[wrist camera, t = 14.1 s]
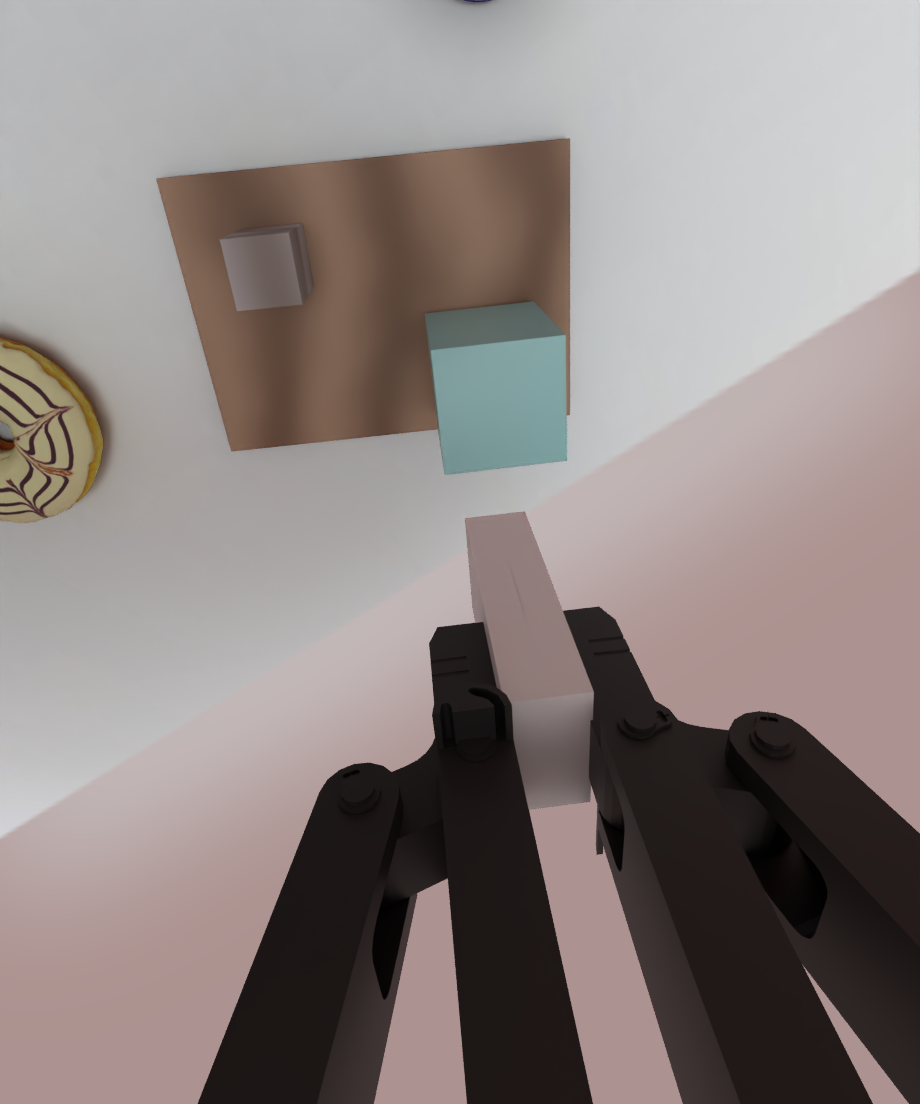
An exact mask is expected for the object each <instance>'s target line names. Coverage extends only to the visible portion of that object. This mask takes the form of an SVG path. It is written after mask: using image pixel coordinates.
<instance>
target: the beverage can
mask: <svg viewBox="0 0 920 1104" xmlns="http://www.w3.org/2000/svg"><path fill="white" fill-rule="evenodd" d="M461 1H465V2H469V3H483V2H487V1H491V0H461Z"/></svg>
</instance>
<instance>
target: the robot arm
mask: <svg viewBox="0 0 920 1104" xmlns="http://www.w3.org/2000/svg"><path fill="white" fill-rule="evenodd" d="M465 523H466V535H467V547H468V557H469V570H470V583H471V595H472V607H473V613H474V618H475V623H471V624H462V625H453V626H444V627H437V629H436V631H435V633H434V635H433V637H432V639H431V641H430V643H429V646H430V658H431V670H432V682H433V694H434V708H433V714H432V717H433V724H434V731H435V739H434V742H433V744H432V746H431V747H430V748H429V750H428V751H427V752H426V754H424V755H423V756H422V757H421V758H419V759H418V760H417V761H415V762H413V763H411V764H409V765H407V766H405V767H403V768H400V769H398V770H396V771H393V772H391V771H389V770H388V769H387V768H385V767H384V766H381V765H377V764H373V763H361V764H353V765H351V766H348V767H346V768H344V769H341V770H339V771H338V772H337V773H335V774H334V775H333V776H332V777H330V778H329V779H328V780H327V781H326V783H325V784H324V786H323V787H322V789H321V791H320V792H319V795H318V798H317V800H316V803H315V805H314V808H313V810H312V813H311V816H310V818H309V820H308V823H307V826H306V828H305V831H304V834H303V836H302V838H301V841H300V843H299V846H298V849H297V851H296V854H295V856H294V859H293V862H292V864H291V866H290V869H289V872H288V874H287V877H286V879H285V882H284V884H283V887H282V889H281V892H280V895H279V897H278V900H277V902H276V905H275V908H274V910H273V913H272V915H271V918H270V920H269V923H268V926H267V928H266V930H265V933H264V935H263V938H262V941H261V943H260V946H259V949H258V951H257V954H256V956H255V958H254V961H253V964H252V966H251V969H250V971H249V974H248V977H247V979H246V981H245V984H244V987H243V989H242V992H241V994H240V997H239V999H238V1002H237V1004H236V1007H235V1010H234V1012H233V1015H232V1017H231V1020H230V1022H229V1025H228V1027H227V1030H226V1033H225V1035H224V1038H223V1040H222V1043H221V1045H220V1048H219V1051H218V1053H217V1056H216V1058H215V1061H214V1063H213V1066H212V1069H211V1071H210V1074H209V1076H208V1079H207V1081H206V1084H205V1086H204V1089H203V1091H202V1094H201V1097H200V1099H199V1102H198V1104H374V1100H375V1095H376V1090H377V1085H378V1081H379V1076H380V1071H381V1066H382V1061H383V1057H384V1052H385V1047H386V1042H387V1037H388V1033H389V1028H390V1023H391V1019H392V1013H393V1009H394V1004H395V999H396V995H397V990H398V985H399V980H400V975H401V971H402V966H403V961H404V956H405V951H406V946H407V942H408V937H409V932H410V927H411V922H412V918H413V913H414V908H415V903H416V899H417V893H418V892H420V891H422V890H424V889H426V888H428V887H431V886H432V885H435V884H437V883H439V882H441V881H443V880H445V879H447V878H448V885H449V895H450V896H449V897H450V909H451V920H452V932H453V944H454V955H455V967H456V979H457V991H458V1002H459V1013H460V1026H461V1036H462V1049H463V1061H464V1072H465V1084H466V1096H467V1104H593V1102H592V1097H591V1093H590V1088H589V1084H588V1079H587V1074H586V1070H585V1065H584V1061H583V1056H582V1052H581V1047H580V1043H579V1038H578V1033H577V1029H576V1024H575V1019H574V1015H573V1010H572V1006H571V1001H570V997H569V992H568V988H567V983H566V978H565V973H564V969H563V964H562V960H561V955H560V950H559V946H558V942H557V937H556V932H555V928H554V923H553V918H552V914H551V910H550V905H549V900H548V895H547V891H546V886H545V882H544V877H543V873H542V868H541V863H540V859H539V854H538V850H537V845H536V840H535V836H534V831H533V827H532V822H531V817H530V813H529V810H530V809H537V808H545V807H553V806H561V805H568V804H576V803H584V802H590V793H591V786H592V789H593V792H594V795H595V798H596V801H597V804H598V805H597V830H596V850H597V855H598V854H603V846H604V849H605V852H606V856H607V859H608V862H609V865H610V869H611V872H612V875H613V878H614V882H615V885H616V888H617V891H618V895H619V898H620V901H621V904H622V907H623V911H624V914H625V917H626V921H627V924H628V927H629V930H630V933H631V937H632V940H633V943H634V947H635V950H636V953H637V956H638V960H639V963H640V966H641V969H642V973H643V976H644V979H645V982H646V985H647V989H648V992H649V995H650V998H651V1002H652V1005H653V1008H654V1011H655V1015H656V1018H657V1021H658V1024H659V1028H660V1031H661V1034H662V1037H663V1041H664V1044H665V1047H666V1050H667V1053H668V1057H669V1060H670V1063H671V1067H672V1070H673V1073H674V1076H675V1080H676V1083H677V1086H678V1089H679V1092H680V1096H681V1099H682V1102H683V1104H873V1103H872V1101H871V1099H870V1097H869V1095H868V1093H867V1091H866V1089H865V1087H864V1085H863V1083H862V1081H861V1079H860V1077H859V1076H858V1074H857V1071H856V1070H855V1068H854V1066H853V1064H852V1062H851V1060H850V1058H849V1056H848V1054H847V1052H846V1050H845V1048H844V1046H843V1044H842V1042H841V1040H840V1038H839V1036H838V1034H837V1032H836V1030H835V1028H834V1026H833V1024H832V1022H831V1020H830V1018H829V1016H828V1015H827V1012H826V1011H825V1009H824V1007H823V1005H822V1003H821V1001H820V999H819V997H818V995H817V993H816V991H815V989H814V987H813V985H812V983H811V981H810V979H809V977H808V975H807V973H806V971H805V969H804V967H805V968H806V969H807V971H808V972H809V973H810V974H811V976H812V977H813V979H814V980H815V981H816V983H817V984H818V985H819V987H820V988H821V989H822V991H823V992H824V993H825V994H826V995H827V997H828V998H829V1000H830V1001H831V1002H832V1004H833V1005H834V1006H835V1007H836V1009H837V1010H838V1011H839V1013H840V1014H841V1015H842V1017H843V1018H844V1019H845V1021H846V1022H847V1023H848V1024H849V1026H850V1027H851V1028H852V1030H853V1031H854V1032H855V1034H856V1035H857V1036H858V1038H859V1039H860V1040H861V1042H862V1043H863V1044H864V1045H865V1047H866V1048H867V1049H868V1051H869V1052H870V1053H871V1055H872V1056H873V1057H874V1058H875V1060H876V1061H877V1062H878V1064H879V1065H880V1066H881V1068H882V1069H883V1070H884V1071H885V1073H886V1074H887V1076H888V1077H889V1078H890V1079H891V1081H892V1082H893V1083H894V1085H895V1086H896V1087H897V1089H898V1090H899V1091H900V1093H901V1094H902V1095H903V1096H904V1098H905V1099H906V1100H907V1102H908V1103H909V1104H920V833H919V832H917V831H916V830H915V829H914V828H913V827H912V826H911V825H910V824H909V823H908V822H906V821H905V820H904V819H903V818H902V817H901V816H900V815H899V814H898V813H897V812H896V811H894V810H893V809H892V808H891V807H890V806H889V805H888V804H887V803H886V802H885V801H883V800H882V799H881V798H880V797H879V796H878V795H877V794H876V793H875V792H874V791H873V790H871V789H870V788H869V787H868V786H867V785H866V784H865V783H864V782H863V781H862V780H860V779H859V778H858V777H857V776H856V775H855V774H854V773H853V772H852V771H851V770H850V769H849V768H847V767H846V766H845V765H844V764H843V763H842V762H841V761H840V760H839V759H838V758H837V757H835V756H834V755H833V754H832V753H831V752H830V751H829V750H828V749H827V748H826V747H825V746H823V745H822V744H821V743H820V742H819V741H818V740H817V739H816V738H815V737H814V736H812V735H811V734H810V733H809V732H808V731H807V730H806V729H805V728H803V727H802V726H800V725H799V724H798V723H796V722H794V721H793V720H792V719H789V718H787V717H784V716H781V715H778V714H776V713H769V712H760V711H758V712H752V713H746V714H743V715H742V716H740V717H738V718H737V719H735V720H734V721H733V723H732V725H731V727H730V729H729V730H721V729H713V728H706V727H699V726H694V725H689V724H686V723H684V722H681V721H679V720H677V718H676V717H675V716H674V715H673V713H672V712H671V711H670V710H669V709H668V708H666V707H665V706H663V705H661V704H659V703H658V702H656V701H655V700H654V698H653V696H652V694H651V692H650V690H649V688H648V686H647V683H646V681H645V679H644V677H643V676H642V673H641V671H640V669H639V667H638V665H637V663H636V661H635V659H634V657H633V655H632V653H631V652H630V649H629V647H628V645H627V643H626V641H625V639H623V634H622V632H621V630H620V628H619V626H618V624H617V622H616V620H615V619H614V618H613V617H611V616H610V615H609V614H607V613H606V612H605V611H604V610H603V609H601V608H600V607H593V608H583V609H575V610H567V611H563V610H562V608H561V605H560V602H559V600H558V597H557V595H556V592H555V589H554V587H553V584H552V582H551V579H550V577H549V574H548V571H547V569H546V566H545V563H544V561H543V558H542V556H541V553H540V550H539V548H538V545H537V543H536V540H535V537H534V535H533V532H532V529H531V527H530V524H529V522H528V519H527V516H526V514H525V512H517V513H508V514H499V515H490V516H481V517H473V518H465ZM802 964H803V965H802ZM803 966H804V967H803Z"/></svg>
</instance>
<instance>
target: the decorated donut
mask: <svg viewBox="0 0 920 1104" xmlns="http://www.w3.org/2000/svg"><path fill="white" fill-rule="evenodd" d="M0 422H4V423H5V424H7V425H8V426H9V427H10V429H11V431H12V434H13V437H14V441H13V443H12V442H6V441H3V440H0V520H1V521H11V522H16V523H27V522H36V521H38V520H40V519H44V518H47V517H52V516H55V515H57V514H59V513H61V512H63V511H64V510H67V509H70V508H71V507H72V505H73V504H74V503H75V502H78V501H79V500H80V499H82V498H83V496H84V495H85V494H86V493H87V492H88V491H89V489H90V488H91V486H92V484H93V482H94V480H95V477H96V474H97V471H98V468H99V466H100V464H101V454H102V449H103V438H102V434H101V430H100V427H99V425H98V422H97V418H96V415H95V413H94V410H93V408H92V405H91V403H90V402H89V400H88V398H87V397H86V396H85V394H84V393H83V392H82V391H81V389H80V388H79V387H78V386H77V385H76V384H75V382H74V381H73V380H72V379H71V378H70V377H69V376H68V375H67V374H66V373H65V371H64V370H62V369H61V368H60V367H59V366H58V365H57V364H55V363H54V362H52V361H50V360H49V359H47V358H46V357H44V356H42V355H40V354H39V353H37V352H36V351H34V350H32V349H31V348H29V347H27V346H25V345H23V344H21V343H19V342H15V341H12V340H8V339H4V338H1V337H0Z"/></svg>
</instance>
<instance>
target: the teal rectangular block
mask: <svg viewBox="0 0 920 1104" xmlns="http://www.w3.org/2000/svg"><path fill="white" fill-rule="evenodd" d="M425 322H426V331H427V340H428V349H429V357H430V366H431V375H432V384H433V393H434V401H435V410H436V419H437V426H438V433H439V440H440V446H441V453H442V460H443V467H444V474H445V475H448V474H456V473H465V472H473V471H482V470H490V469H499V468H508V467H516V466H525V465H533V464H542V463H550V462H559V461H567V421H566V335H565V334H564V333H563V332H562V331H561V330H560V329H559V327H558V326H557V325H556V324H555V323H554V322H553V321H552V320H551V319H550V318H549V317H548V316H547V315H546V314H545V313H544V311H543V310H542V309H541V308H540V307H539V306H538V305H537V304H536V303H535V302H534V301H532V302H523V303H514V304H505V305H496V306H487V307H478V308H469V309H460V310H451V311H442V312H433V313H425Z"/></svg>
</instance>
